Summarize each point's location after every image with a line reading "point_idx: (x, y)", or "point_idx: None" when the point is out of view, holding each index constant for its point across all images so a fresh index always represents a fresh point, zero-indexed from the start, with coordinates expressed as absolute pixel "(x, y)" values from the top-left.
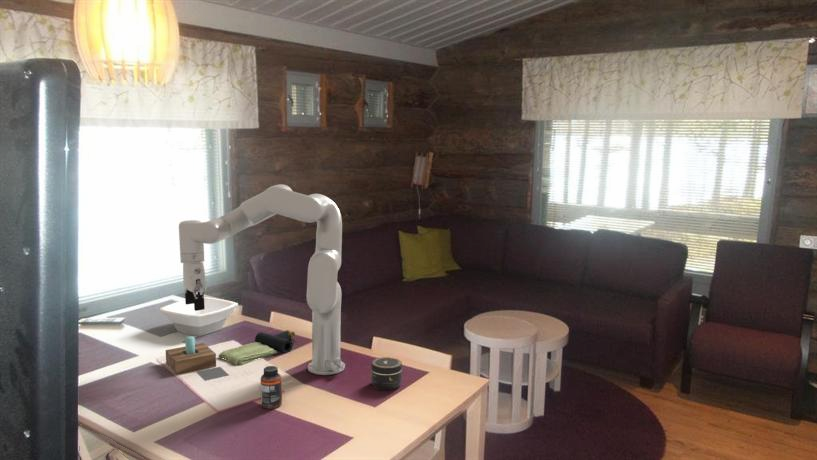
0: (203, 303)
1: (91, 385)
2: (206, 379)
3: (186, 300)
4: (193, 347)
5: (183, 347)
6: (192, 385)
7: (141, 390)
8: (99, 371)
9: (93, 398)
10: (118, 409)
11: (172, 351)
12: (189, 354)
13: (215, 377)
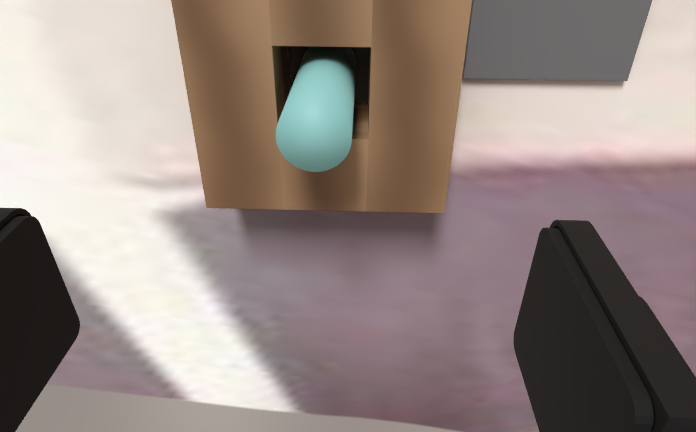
0: (629, 307)
1: (326, 407)
2: (618, 67)
3: (45, 380)
4: (350, 94)
5: (204, 106)
6: (612, 145)
7: (492, 313)
8: (193, 373)
9: (447, 418)
10: None
11: (253, 183)
12: (372, 116)
13: (636, 10)
